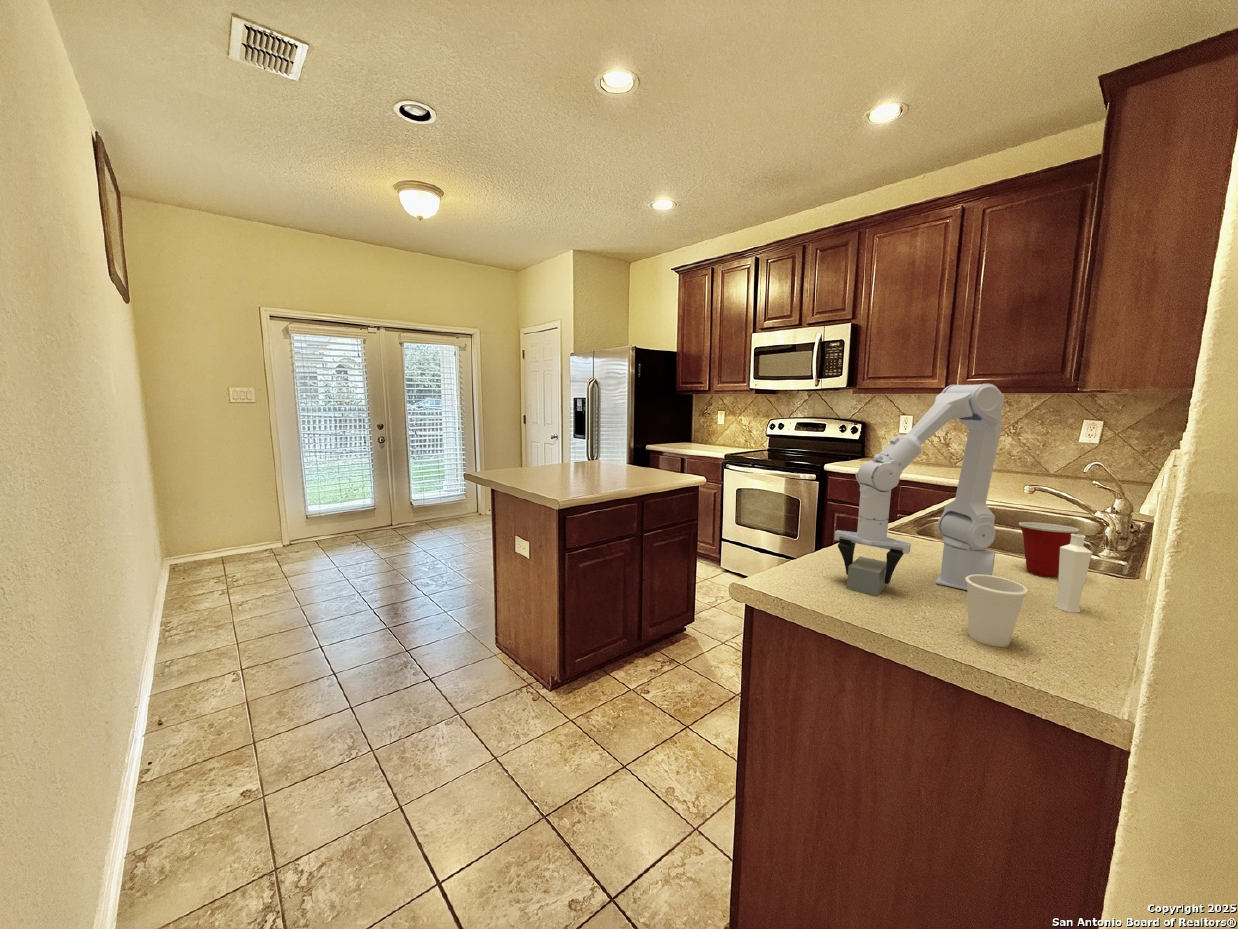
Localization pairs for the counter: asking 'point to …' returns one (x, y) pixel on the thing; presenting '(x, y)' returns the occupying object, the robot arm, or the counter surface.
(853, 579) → the gray block
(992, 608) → the dixie cup
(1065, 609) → the perfume bottle
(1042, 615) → the counter surface
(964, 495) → the robot arm
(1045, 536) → the plastic cup
